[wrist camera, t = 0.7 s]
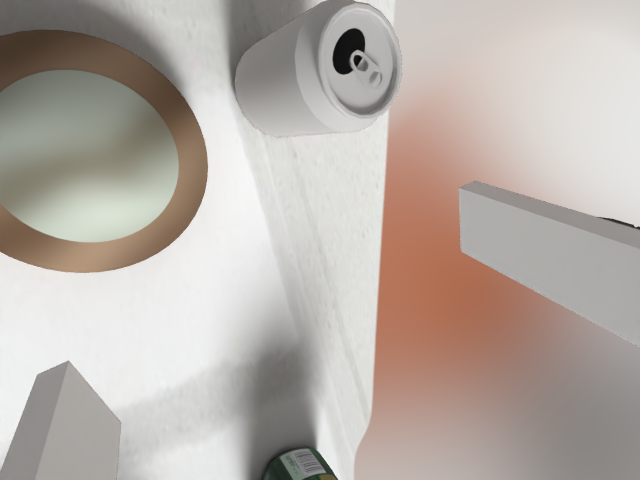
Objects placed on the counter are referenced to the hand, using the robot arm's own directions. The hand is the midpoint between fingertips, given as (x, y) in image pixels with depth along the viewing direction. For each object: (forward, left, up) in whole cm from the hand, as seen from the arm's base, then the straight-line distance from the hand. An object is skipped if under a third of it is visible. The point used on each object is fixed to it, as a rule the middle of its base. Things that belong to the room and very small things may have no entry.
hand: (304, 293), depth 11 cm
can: (-1, +13, -20) cm, 24 cm away
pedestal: (-6, -1, -20) cm, 21 cm away
